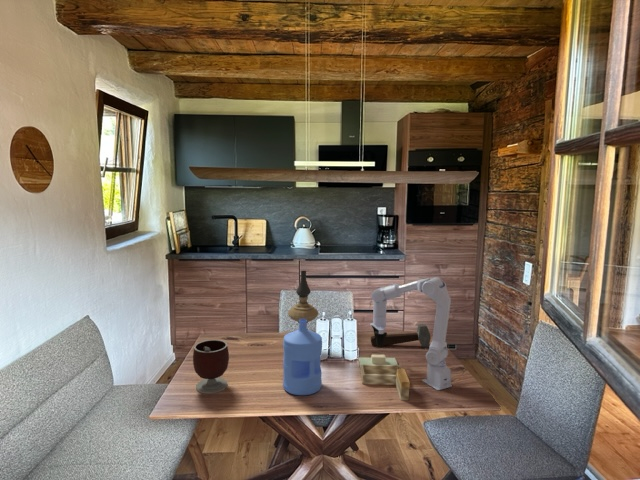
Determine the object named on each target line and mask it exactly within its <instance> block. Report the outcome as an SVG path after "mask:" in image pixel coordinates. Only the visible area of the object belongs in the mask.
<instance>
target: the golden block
mask: <svg viewBox="0 0 640 480" xmlns="http://www.w3.org/2000/svg"><path fill="white" fill-rule="evenodd" d="M397 377H398V380H399V383H400V385H401V388H409V389H410V385H411V383H410V382H411V381H410V380H409V376H408V375H407V372H406V369H405V368H401V369H397Z"/></svg>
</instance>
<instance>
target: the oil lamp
mask: <svg viewBox="0 0 640 480" xmlns="http://www.w3.org/2000/svg"><path fill="white" fill-rule="evenodd" d="M295 291H296V292H295V293H296V294H297V295H298V300H299V301H295V304H294V305H293V306H292V307H291V308H290V309H289V310H288V311H287V315H288V317H289V318H290V319H291V320H293V321H294V322H297V323H298V324H299V320H300V319H306V320H307V324H308V323H309V322H311V321H314V320H315V319H316V318H317V317H318V316H319V314H320V313H319V311H318V309H317V308H316V307H315V306H314V305H313V304H311V303H309V302H308V298H309V295H310V294H311V291H312V290H311V289H310V287H309V285H308V281H307V271H306V270H301V271H300V281H299V285H298V286H297V289H296V290H295ZM307 330H309V329H308V328H307Z"/></svg>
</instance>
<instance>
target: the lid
mask: <svg viewBox="0 0 640 480" xmlns="http://www.w3.org/2000/svg"><path fill="white" fill-rule="evenodd" d="M357 359H358V364H359V367H360V369H361V364H363V365H399V364H398V362H397V359H396V357H386V355H385V354H371V356H370V357H358V358H357Z"/></svg>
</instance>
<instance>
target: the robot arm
mask: <svg viewBox="0 0 640 480" xmlns="http://www.w3.org/2000/svg"><path fill="white" fill-rule="evenodd" d="M411 291H418V292H419V293H423V294H424V295H425V296H427V297H428V298H430V299H431V300H432V301H433V302H434V303H435V304H436V309H435V316H434V324H433V331H432V337H431V338H432V339H431V341H430V343H429V346H428V347H429V348H428V351H426V353H425V359H426V362H427V367H426V378H423V379H421V381H422V382H423V383H425V384H426V385H428V386H430V387H431V388H434V390H436V391H441V390H444V389H447V388H448V389H449V388H452V386H453V385H452V370H451V369H450V368H449V367H448V366H447V362H446V358H448V356H449V350H448V343H447V342H446V340H447V339H446V338H447V331H448V325H449V324H448V323H449V318H450V317H449V316H450V312H451V311H450V310H451V303H452V299H451V296H450V294H449V291H448V288H447V283H446V282H445V281H444V280H443V279H442V278H441V277H438V276H434V277H432V278H431V277H428V278H422V279H419V280H414V281H412V282H408V283H405V284H402V285H401V284H399V283H394V282H393V283H390V285H388V286H384V285H383V286H381V287H379V288H376V289H375V290H373V291H372V292H371V299H372V300H373V307H372V308H373V309H372V310H373V313H372V322H371V323H369V324H370V327H371V328H372V330H373V336H375V340H376V342H377V348H383V347H384V346H383V342H384V339H385V337H386V335H388V333H387V332H386V331H385V332H384V330H385V328H386V327H387V303H388V302H387V301H389V300H391V299H395V298H399V297H402V295H403V294H404V293H408V292H411Z"/></svg>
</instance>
